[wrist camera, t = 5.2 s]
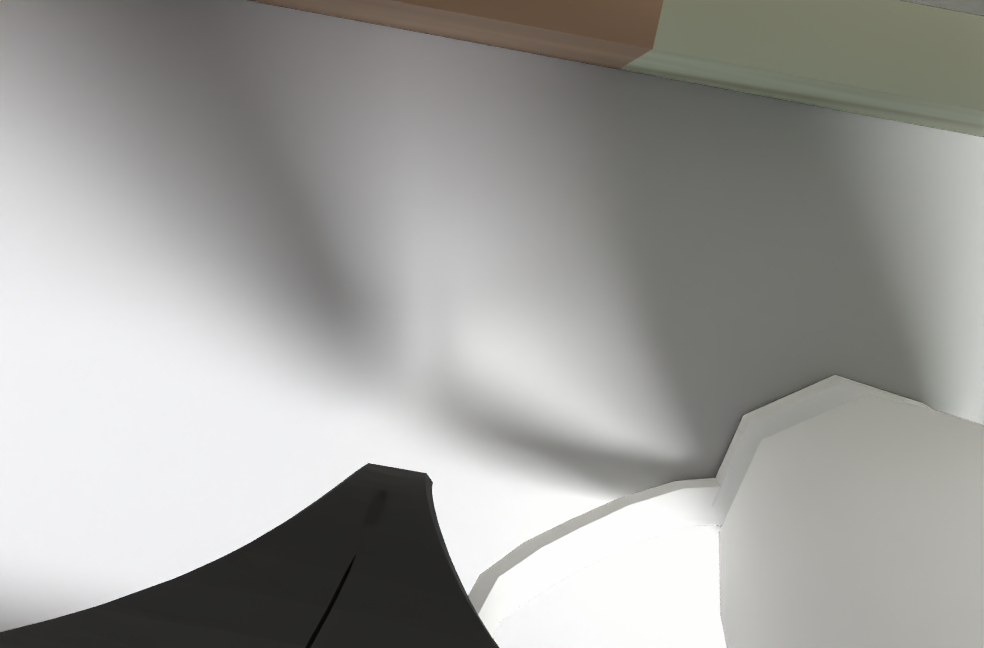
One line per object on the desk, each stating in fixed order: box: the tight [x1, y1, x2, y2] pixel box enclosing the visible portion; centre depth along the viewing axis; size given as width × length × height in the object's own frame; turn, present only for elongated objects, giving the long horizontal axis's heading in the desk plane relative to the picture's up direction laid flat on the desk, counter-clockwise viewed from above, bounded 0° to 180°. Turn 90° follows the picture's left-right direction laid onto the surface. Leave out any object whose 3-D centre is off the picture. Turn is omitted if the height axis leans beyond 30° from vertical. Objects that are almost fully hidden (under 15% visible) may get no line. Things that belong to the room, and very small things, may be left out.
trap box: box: [249, 0, 984, 137], centre depth 12 cm, size 16×30×3 cm, turn 80°
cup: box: [468, 375, 984, 648], centre depth 9 cm, size 7×10×8 cm
